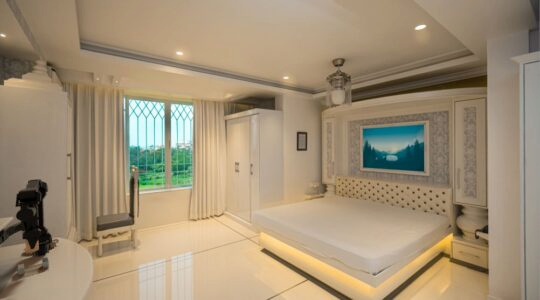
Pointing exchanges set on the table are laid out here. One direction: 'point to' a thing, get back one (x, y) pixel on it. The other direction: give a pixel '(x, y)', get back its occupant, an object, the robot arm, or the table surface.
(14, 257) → the table surface
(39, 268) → the board
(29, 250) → the orange-tan rounded capsule
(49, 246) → the alarm clock
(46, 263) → the clamp jaws
